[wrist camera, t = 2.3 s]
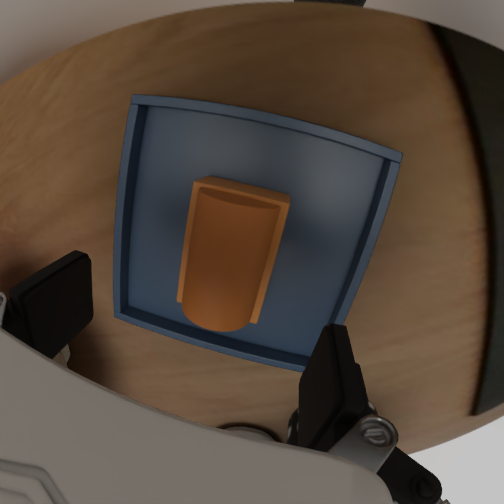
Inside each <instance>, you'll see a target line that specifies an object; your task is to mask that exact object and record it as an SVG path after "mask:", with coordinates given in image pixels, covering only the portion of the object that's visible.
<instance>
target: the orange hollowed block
mask: <svg viewBox="0 0 504 504" xmlns="http://www.w3.org/2000/svg"><path fill="white" fill-rule="evenodd" d="M289 207H290V195H288V194H285V193H281V192H277V191H273V190H269V189H265V188H261V187H257V186H252V185H248V184H244V183H240V182H236V181H231V180H227V179H222V178H218V177H213V176H206V177H203V178H201V179H198V180H196V181H194V182H193V188H192V194H191V200H190V206H189V212H188V218H187V224H186V231H185V238H184V245H183V252H182V259H181V267H180V275H179V283H178V292H177V302H180V303H182V310H183V313H184V314H185V316H186V317H187V318H188V319H189V320H190V321H192V322H193V323H194V324H196V325H198V326H200V327H203V328H205V329H209V330H213V331H221V332H228V331H235V330H238V329H241V328H243V327H244V326H246V325H247V324H248V323H249V322H251V323H255V324H257V322H258V319H259V315H260V312H261V308H262V305H263V301H264V298H265V294H266V291H267V287H268V284H269V280H270V277H271V273H272V269H273V266H274V262H275V259H276V255H277V251H278V248H279V244H280V240H281V237H282V233H283V229H284V226H285V222H286V218H287V214H288V211H289Z"/></svg>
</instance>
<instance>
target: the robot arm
mask: <svg viewBox="0 0 504 504" xmlns="http://www.w3.org/2000/svg"><path fill="white" fill-rule="evenodd" d="M9 295H10V299H8V300H7V297H6V296H5V294H4V293H2V292H0V504H450V503H449V502H448V500H447V499H446V500H445V501H442V500H441V498H440V497H441V495H442V487H441V483H440V481H439V480H438V478H437V477H436V476H435V475H434V474H432V473H431V472H430V471H428V470H427V469H425V468H424V467H423V466H421V465H420V464H419V463H417V462H416V461H415V460H413V459H412V458H411V457H409V456H408V455H407V454H405V453H404V452H403V451H401V450H400V449H399V448H397V447H396V444H397V442H398V433H397V430H396V428H395V427H394V425H393V424H392V423H391V422H390V421H389V420H387V419H385V418H383V417H381V416H377V415H371V411H370V407H369V402H368V398H367V393H366V389H365V385H364V380H363V376H362V372H361V368H360V365H359V364H358V363H355V360H354V356H353V352H352V348H351V344H350V340H349V336H348V332H347V328H346V326H344V325H339V324H335V323H330V325H329V326H324V327H323V329H322V331H321V334H320V336H319V338H318V341H317V343H316V345H315V348H314V350H313V352H312V354H311V357H310V359H309V361H308V363H307V365H306V368H305V370H304V372H303V374H302V376H301V379H300V382H299V415H298V446H293V445H289V444H284V443H279V442H274V441H269V440H264V439H259V438H255V437H251V436H246V435H242V434H238V433H234V432H231V431H227V430H223V429H219V428H215V427H212V426H208V425H205V424H201V423H198V422H195V421H192V420H188V419H185V418H182V417H179V416H176V415H173V414H170V413H168V412H165V411H162V410H159V409H157V408H154V407H151V406H149V405H146V404H143V403H141V402H138V401H136V400H133V399H131V398H129V397H126V396H124V395H122V394H119V393H117V392H115V391H112V390H110V389H108V388H106V387H104V386H102V385H99V384H97V383H95V382H93V381H91V380H89V379H87V378H85V377H83V376H81V375H79V374H77V373H75V372H73V371H72V370H70V369H68V368H66V367H64V366H62V365H60V364H59V363H57V362H55V361H53V360H52V359H53V358H54V357H55V356H56V355H57V354H58V353H59V352H60V351H61V350H62V349H63V348H64V347H65V346H66V345H67V344H68V343H69V342H70V341H71V340H72V339H73V338H74V337H75V336H76V335H77V334H78V333H79V332H80V331H81V330H82V329H83V328H84V327H85V326H86V325H87V324H88V323H89V322H90V321H91V320H92V318H93V300H92V274H91V259H90V258H89V256H88V254H86V253H83V252H80V251H77V250H74V251H72V252H71V253H69V254H67V255H65V256H64V257H62V258H60V259H58V260H57V261H55V262H53V263H52V264H50V265H48V266H47V267H45V268H43V269H41V270H40V271H38V272H37V273H35V274H33V275H32V276H30V277H28V278H27V279H25V280H24V281H22V282H20V283H19V284H17V285H16V286H14V287H13V288H11V289H10V290H9Z"/></svg>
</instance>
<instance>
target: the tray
mask: <svg viewBox="0 0 504 504" xmlns="http://www.w3.org/2000/svg"><path fill="white" fill-rule="evenodd" d="M402 157H403V153H401V152H399V151H396V150H394V149H391V148H388V147H386V146H383V145H380V144H377V143H375V142H372V141H369V140H366V139H363V138H360V137H357V136H354V135H351V134H348V133H345V132H341V131H338V130H335V129H332V128H328V127H325V126H321V125H318V124H314V123H310V122H307V121H303V120H299V119H295V118H291V117H287V116H282V115H278V114H274V113H269V112H264V111H260V110H255V109H250V108H244V107H239V106H233V105H227V104H221V103H215V102H208V101H201V100H193V99H185V98H176V97H165V96H153V95H138V94H133V95H132V99H131V104H130V108H129V113H128V119H127V124H126V130H125V136H124V142H123V149H122V156H121V163H120V171H119V180H118V189H117V200H116V212H115V228H114V253H113V301H114V317H116V318H118V319H121V320H123V321H126V322H129V323H131V324H134V325H137V326H139V327H142V328H145V329H148V330H151V331H153V332H156V333H159V334H162V335H165V336H168V337H171V338H174V339H177V340H180V341H183V342H187V343H190V344H193V345H196V346H200V347H203V348H206V349H210V350H213V351H217V352H220V353H224V354H227V355H231V356H235V357H238V358H242V359H246V360H250V361H254V362H258V363H262V364H266V365H271V366H275V367H280V368H284V369H289V370H293V371H298V372H304V370H305V368H306V365H307V363H308V361H309V359H310V357H311V354H312V352H313V350H314V348H315V345H316V343H317V341H318V338H319V336H320V334H321V331H322V329H323V327H324V326H329V325H330V323H335V324H339V325H343V323H344V321H345V318H346V316H347V314H348V312H349V309H350V307H351V305H352V302H353V300H354V298H355V295H356V293H357V290H358V288H359V286H360V283H361V281H362V278H363V276H364V273H365V270H366V268H367V265H368V263H369V260H370V257H371V255H372V252H373V249H374V247H375V244H376V241H377V238H378V235H379V232H380V229H381V227H382V224H383V221H384V218H385V215H386V211H387V208H388V205H389V202H390V199H391V196H392V192H393V189H394V185H395V182H396V179H397V175H398V171H399V168H400V163H401V160H402ZM206 176H213V177H218V178H222V179H227V180H231V181H236V182H240V183H244V184H248V185H252V186H257V187H261V188H265V189H269V190H273V191H277V192H281V193H285V194H288V195H290V207H289V211H288V214H287V218H286V222H285V226H284V229H283V233H282V237H281V240H280V244H279V248H278V251H277V255H276V259H275V262H274V266H273V269H272V273H271V277H270V280H269V284H268V287H267V291H266V294H265V298H264V301H263V305H262V308H261V312H260V315H259V319H258V322H257V324H255V323H251V322H249V323H248V324H247V325H246V326H244V327H243V328H241V329H238V330H235V331H228V332H221V331H213V330H209V329H205V328H203V327H200V326H198V325H196V324H194V323H193V322H192V321H190V320H189V319H188V318H187V317H186V316H185V314H184V313H183V310H182V303H180V302H177V292H178V283H179V275H180V267H181V259H182V252H183V245H184V238H185V231H186V224H187V218H188V212H189V206H190V200H191V194H192V188H193V182H194V181H196V180H198V179H201V178H203V177H206Z"/></svg>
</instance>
